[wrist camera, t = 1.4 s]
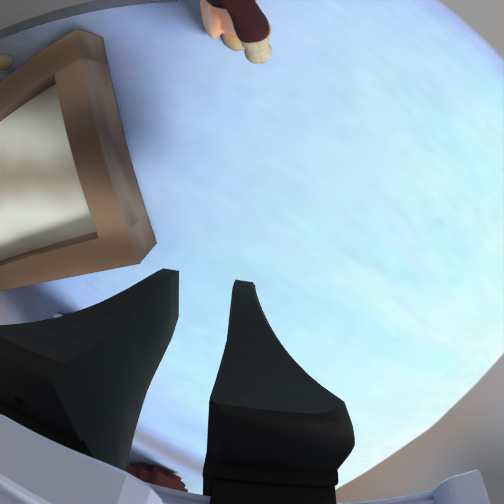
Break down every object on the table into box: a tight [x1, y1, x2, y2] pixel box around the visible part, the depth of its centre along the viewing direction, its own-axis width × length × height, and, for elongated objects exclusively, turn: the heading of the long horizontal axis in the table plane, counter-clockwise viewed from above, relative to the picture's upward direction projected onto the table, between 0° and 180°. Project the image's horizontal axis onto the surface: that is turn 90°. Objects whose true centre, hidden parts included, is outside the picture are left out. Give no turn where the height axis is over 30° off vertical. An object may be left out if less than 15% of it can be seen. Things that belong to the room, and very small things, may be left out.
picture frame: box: [0, 29, 157, 291], centre depth 17 cm, size 16×18×3 cm
